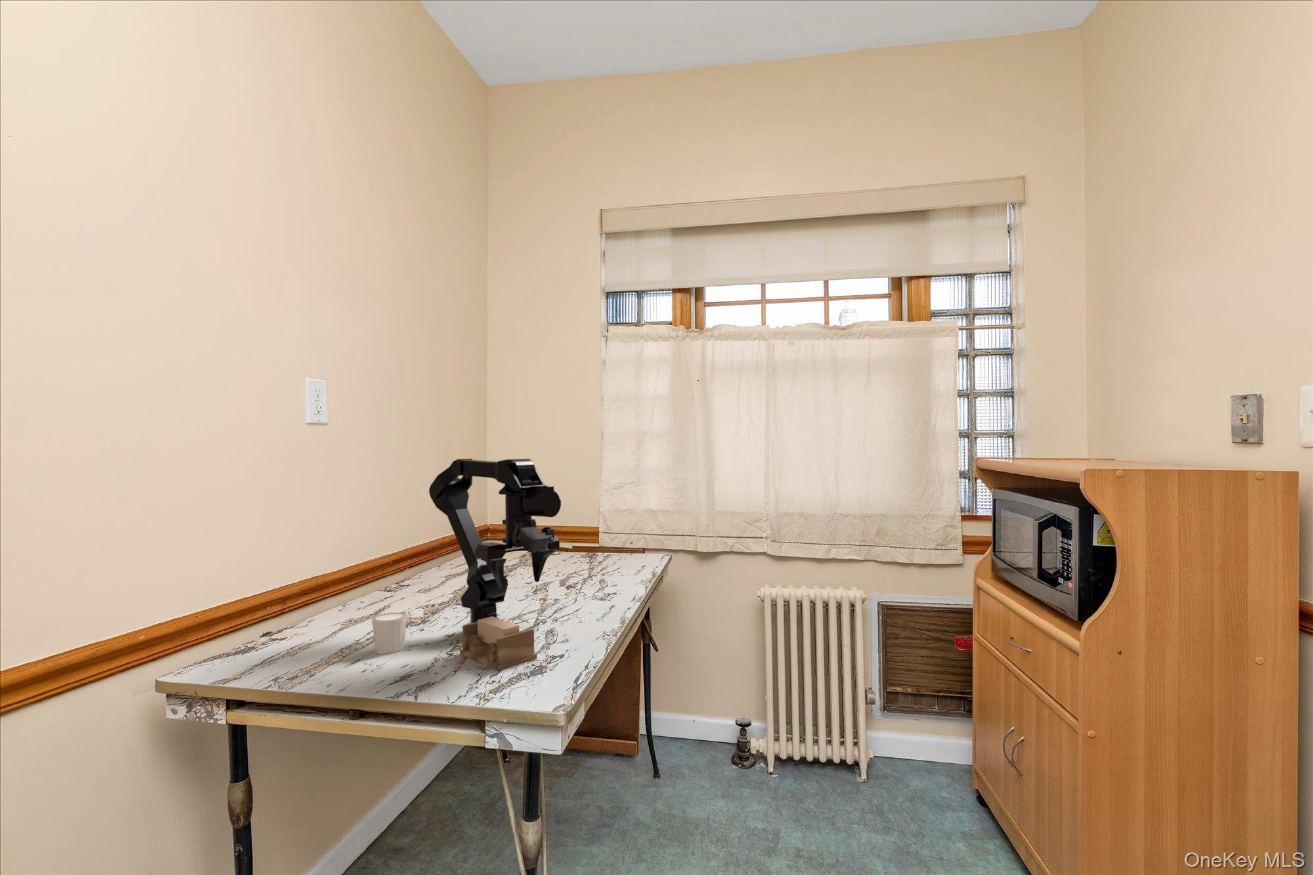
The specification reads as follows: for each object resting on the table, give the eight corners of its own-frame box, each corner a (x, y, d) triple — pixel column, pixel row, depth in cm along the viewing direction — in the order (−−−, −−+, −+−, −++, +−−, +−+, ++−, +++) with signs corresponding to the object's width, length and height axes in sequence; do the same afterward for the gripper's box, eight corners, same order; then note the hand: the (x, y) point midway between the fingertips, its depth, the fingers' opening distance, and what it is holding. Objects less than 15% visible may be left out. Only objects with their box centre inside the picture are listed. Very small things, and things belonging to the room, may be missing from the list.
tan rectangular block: (477, 639, 125) (477, 619, 125) (492, 635, 127) (492, 616, 127) (504, 649, 118) (504, 629, 118) (519, 645, 120) (519, 625, 120)
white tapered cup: (414, 646, 129) (413, 613, 130) (388, 656, 123) (387, 622, 123) (391, 642, 132) (391, 610, 132) (364, 652, 126) (364, 618, 126)
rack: (460, 653, 124) (459, 625, 124) (498, 642, 131) (497, 616, 131) (497, 670, 114) (497, 640, 114) (536, 658, 121) (536, 629, 121)
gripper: (501, 521, 121) (502, 599, 121) (574, 513, 135) (575, 583, 134) (473, 518, 129) (474, 591, 128) (544, 510, 142) (545, 576, 142)
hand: (519, 585), depth 133 cm, fingers open, 9 cm apart
